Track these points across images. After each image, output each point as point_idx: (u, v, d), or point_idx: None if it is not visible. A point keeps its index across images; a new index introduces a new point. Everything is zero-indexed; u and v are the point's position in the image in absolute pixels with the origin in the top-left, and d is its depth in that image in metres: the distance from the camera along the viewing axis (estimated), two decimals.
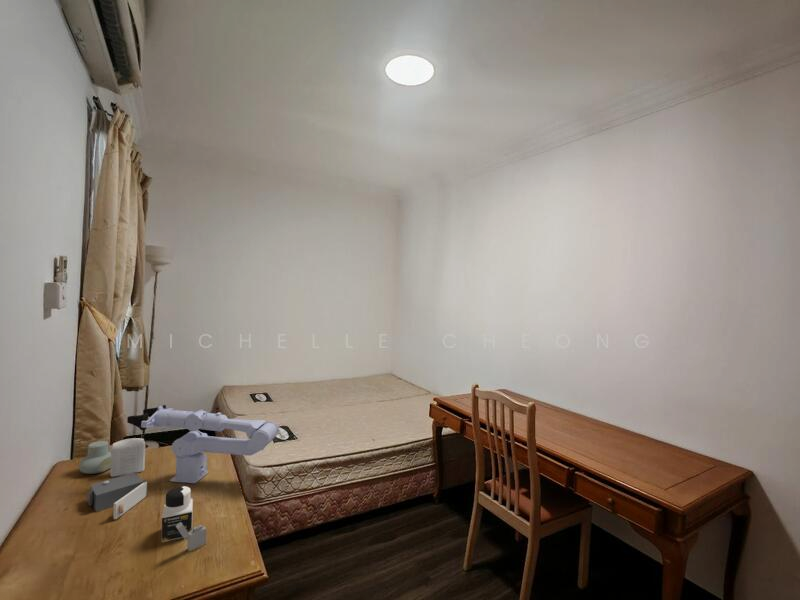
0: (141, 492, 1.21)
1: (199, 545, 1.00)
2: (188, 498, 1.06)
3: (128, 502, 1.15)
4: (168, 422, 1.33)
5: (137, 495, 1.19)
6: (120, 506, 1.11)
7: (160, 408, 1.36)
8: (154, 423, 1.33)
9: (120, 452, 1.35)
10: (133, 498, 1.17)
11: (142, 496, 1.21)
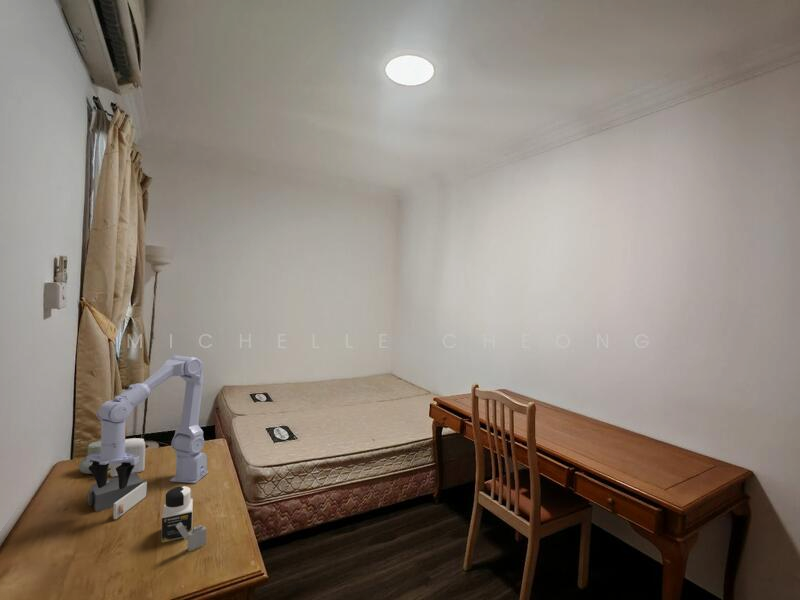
0: (141, 492, 1.21)
1: (199, 545, 1.00)
2: (188, 498, 1.06)
3: (128, 502, 1.15)
4: (121, 441, 1.12)
5: (137, 495, 1.19)
6: (120, 506, 1.11)
7: (104, 461, 1.09)
8: (125, 456, 1.14)
9: None
10: (133, 498, 1.17)
11: (142, 496, 1.21)
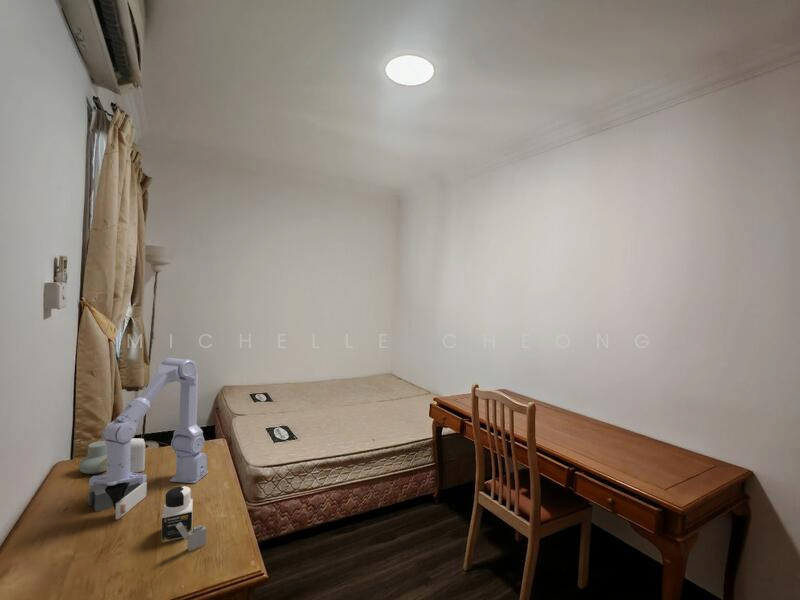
0: (141, 492, 1.21)
1: (199, 545, 1.00)
2: (188, 498, 1.06)
3: (129, 502, 1.15)
4: (127, 461, 1.12)
5: (138, 495, 1.19)
6: (122, 506, 1.11)
7: (112, 482, 1.09)
8: (131, 475, 1.14)
9: None
10: (134, 498, 1.17)
11: (142, 496, 1.21)
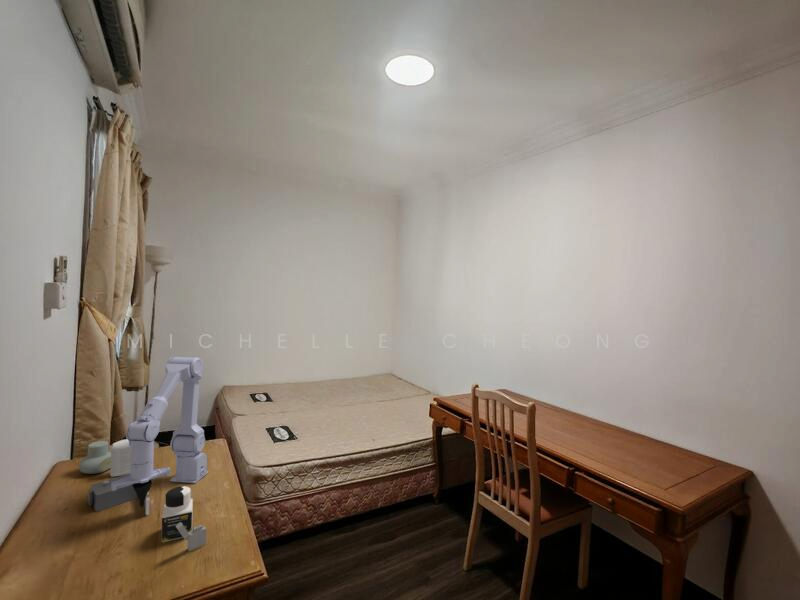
0: None
1: (199, 545, 1.00)
2: (188, 498, 1.06)
3: None
4: (152, 459, 1.14)
5: None
6: (151, 501, 1.14)
7: (146, 479, 1.11)
8: None
9: (120, 452, 1.35)
10: None
11: None
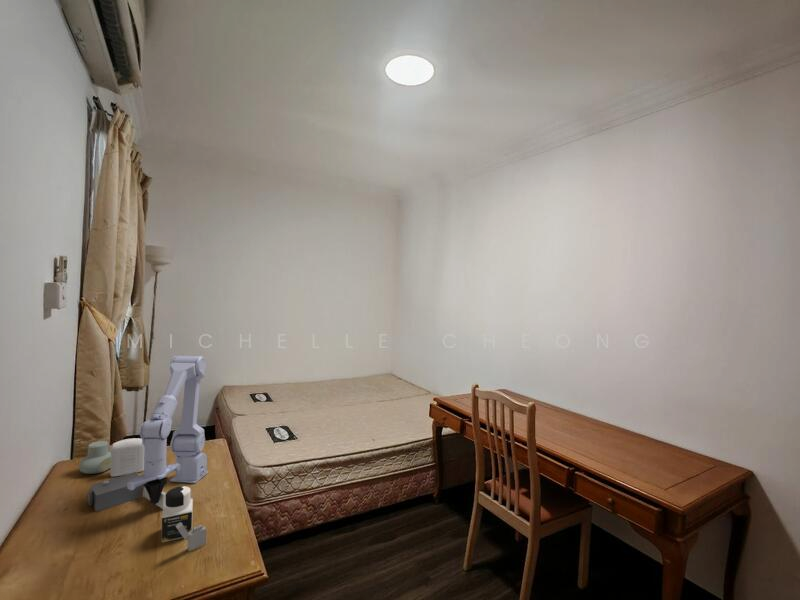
0: None
1: (199, 545, 1.00)
2: (188, 498, 1.06)
3: None
4: (165, 456, 1.16)
5: None
6: None
7: (163, 475, 1.14)
8: None
9: (120, 452, 1.35)
10: None
11: None
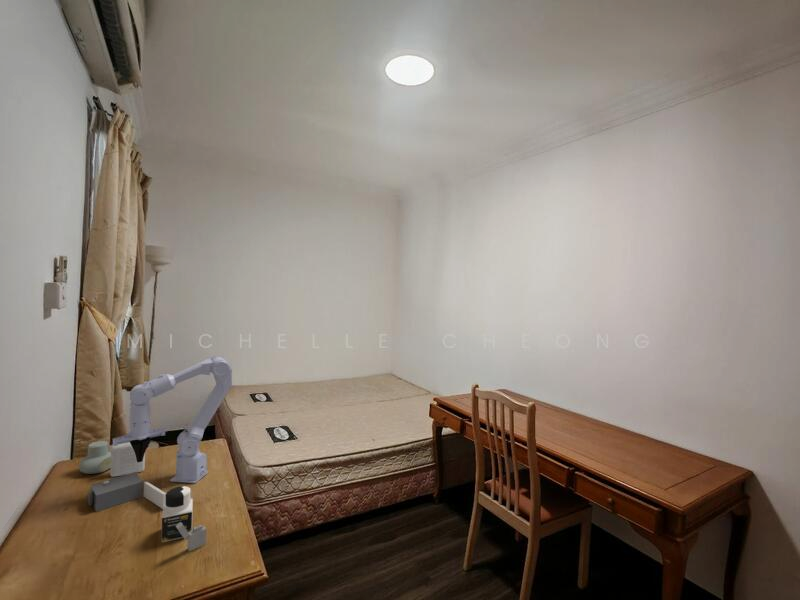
0: None
1: (199, 545, 1.00)
2: (188, 498, 1.06)
3: None
4: (141, 422, 1.26)
5: None
6: None
7: (143, 436, 1.26)
8: None
9: (120, 452, 1.35)
10: None
11: None
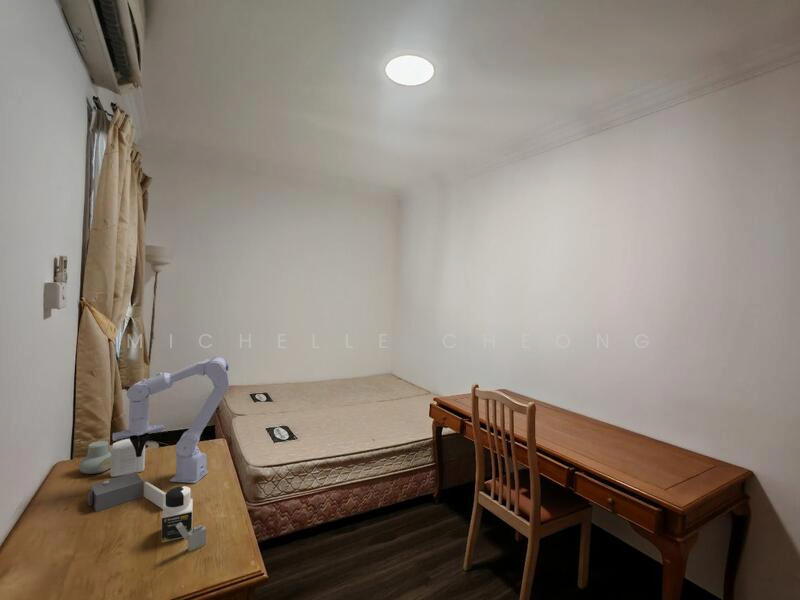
0: None
1: (199, 545, 1.00)
2: (188, 498, 1.06)
3: None
4: (138, 418, 1.29)
5: None
6: None
7: (141, 432, 1.29)
8: (148, 427, 1.34)
9: (120, 452, 1.35)
10: None
11: None
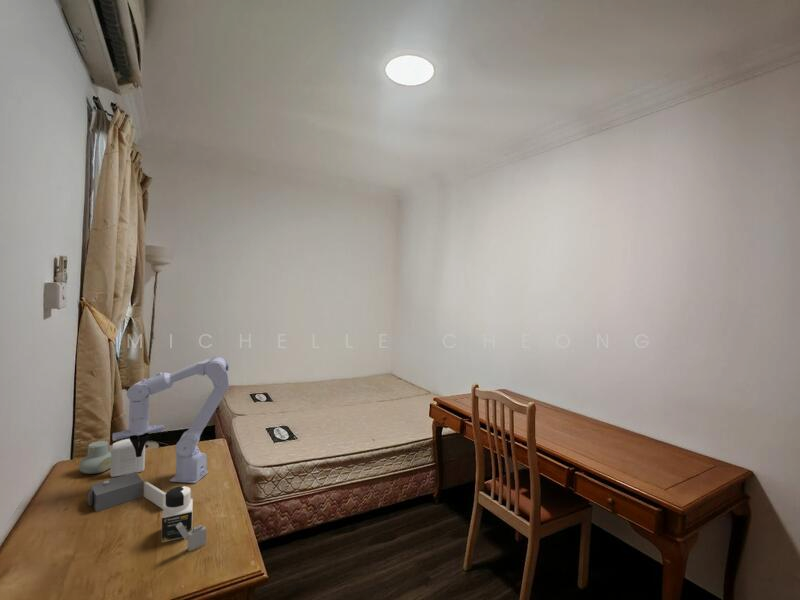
0: None
1: (199, 545, 1.00)
2: (188, 498, 1.06)
3: None
4: (138, 418, 1.29)
5: None
6: None
7: (141, 432, 1.29)
8: (148, 427, 1.34)
9: (120, 452, 1.35)
10: None
11: None
